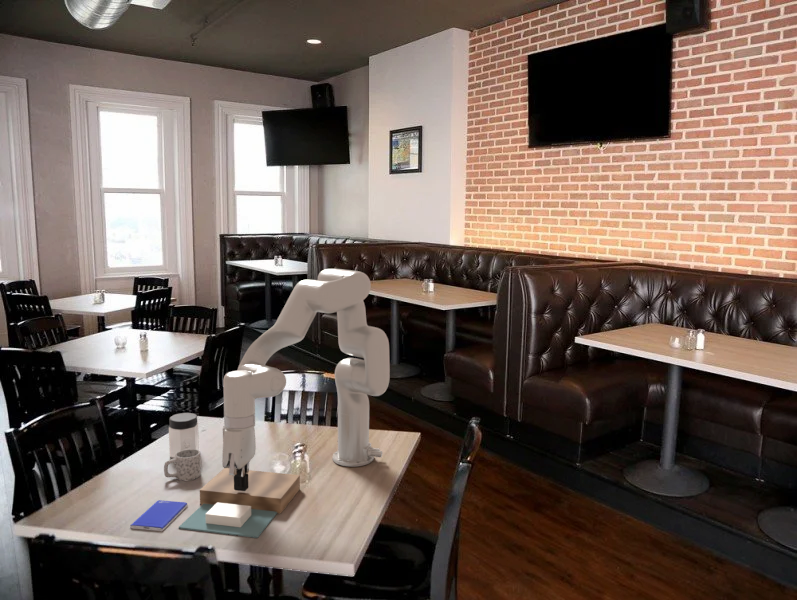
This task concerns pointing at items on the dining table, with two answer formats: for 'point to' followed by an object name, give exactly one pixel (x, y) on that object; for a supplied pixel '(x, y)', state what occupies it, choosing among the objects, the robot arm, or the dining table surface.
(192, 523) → the mat
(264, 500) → the brown wooden block
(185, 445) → the jar
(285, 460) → the dining table surface
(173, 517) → the hard drive
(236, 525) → the ivory rectangular block
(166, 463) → the mug
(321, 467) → the dining table surface
